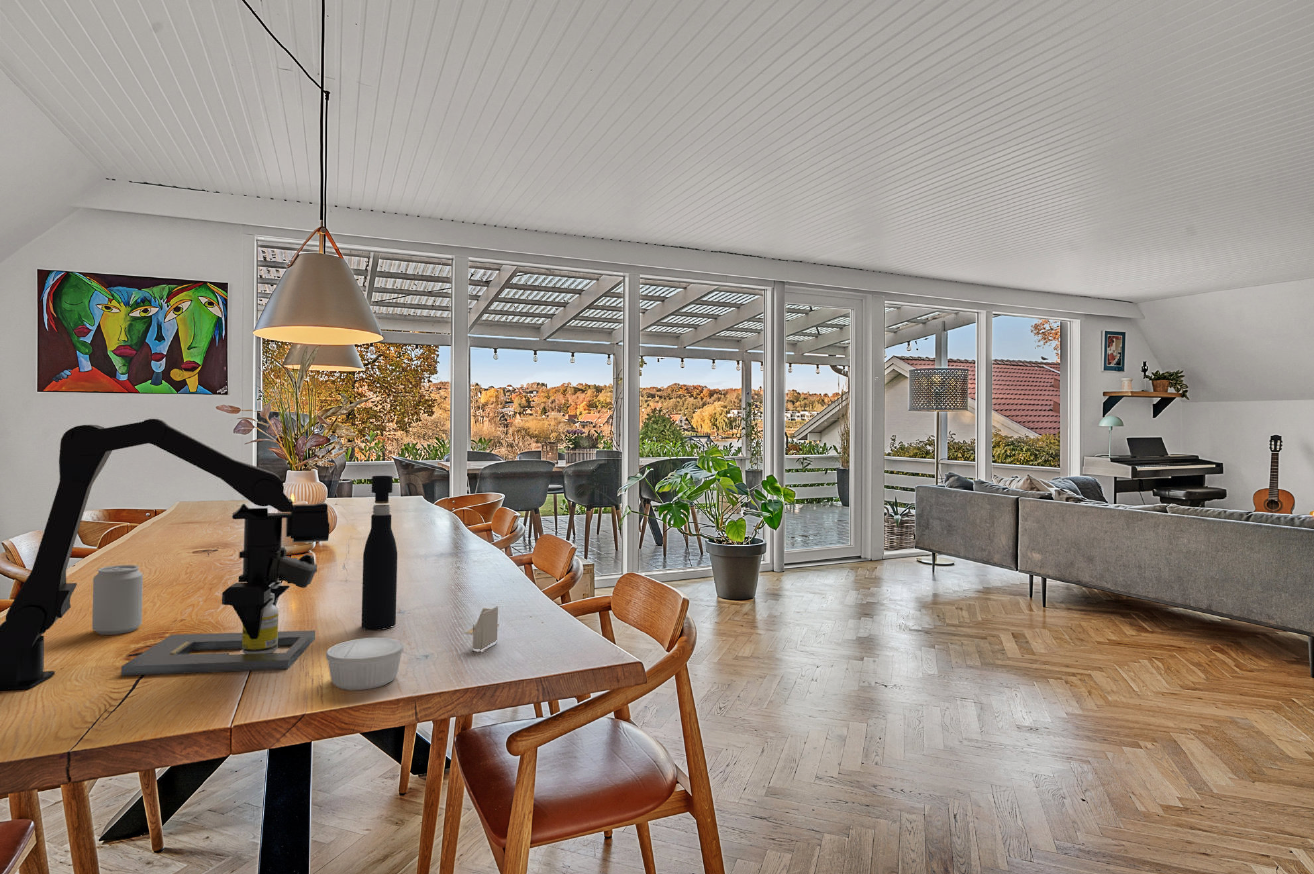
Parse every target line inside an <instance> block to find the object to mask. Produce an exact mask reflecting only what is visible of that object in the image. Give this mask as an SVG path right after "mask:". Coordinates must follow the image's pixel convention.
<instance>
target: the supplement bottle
mask: <svg viewBox="0 0 1314 874" xmlns="http://www.w3.org/2000/svg"><path fill="white" fill-rule="evenodd" d="M270 598H274V594H273V593H271V595H270ZM273 603H274V599H273V600H272V601H271V602H270V603H269V604H268V605H267V606H266V607H265V608H264V612H263V617H262V622H261V627H260V632H259V636H258V638H257V639H250V637H249V635H248V633H247V631H246V629H245V627H244V625H243V624H242V633H243V636H242V649H241V650H242V654H264V653H275V652H276V651H277V650H278V647H279V646H278V632H279V608H278V606H277V605H276V606H275V605H273Z"/></svg>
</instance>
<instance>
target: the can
mask: <svg viewBox="0 0 1314 874" xmlns="http://www.w3.org/2000/svg"><path fill="white" fill-rule="evenodd" d="M139 568H140V566H139V565H135V564H123V565H122V564H120V565H111V566H104V567H101V568H98V569H97V572H98V573H97V574H96V575H94V577H93V579H92V613H91V614H92V616H91V617H92V621H91V623H92V624H91V625H92V626H91V627H92V628H91V629H92V630H93V631H94V632H95V633H97V634H98V635H102V636H108V635H109V636H110V635H122V634H126V633H129V632H134V631H135V630H137V628H138V627H140V626H141V625H142V622H143V585H144V582H143V581H144V579H143V578H144V576H143V575H144V574H143V573H142V572H141V571H140V570H139Z"/></svg>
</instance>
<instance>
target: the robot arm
mask: <svg viewBox="0 0 1314 874" xmlns="http://www.w3.org/2000/svg"><path fill="white" fill-rule="evenodd" d="M148 444H150V445H153V446H156V447H157V448H159V449H161V450H163V451H165V452H167V453H169V454H171V455H172V456H175V457H177V458H179V459H180V460H182V461H184V462H187V463H189V464H190V465H193V466H195V467H196V468H199V469H201V470H203V471H205V472H207V473H209V474H211V475H213V476H215V477H217V478H218V479H220V480H222V481H223V482H224V483H226V484H227V485H228V486H230V487H231V488H232V489H233V490H235V491H236V492H238V493H239V494H240V495H241V496H243V497H244V498H245V499H247V500H248V501H249V502H251V503H252V504H253V505H255V506H259V507H256V508H254V507H251V508H250V507H248V505H246V504H245V503H242V504H241V506H240V507H239V508H238V509H236V511H235V512H233V513H232V516H231V519H233V520H244V521H243V522H244V524H243V525H244V526H243V527H244V528H243V529H244V530H243V549H242V550H240V551H239V552H238V553H239V554H238V555H239V556H238V558H239V559H243V560H242V574H240V575H238V582H234V583H233V584H232V585H230V586H228V587H227V588H226V589H225V590H223V592H222V593H221V605H223V606H231V607H232V608H233V610H234V611H235V613H236V615H237V616H238V618H239V620H240V621H241V623H242V626H243V625H244V627H245V629H246V631H247V633H248V635H249V637H250V639H257V638H258V636H259V632H260V627H261V622H262V617H263V612H264V608H265V607H266V606H267V605H268V604H269V603H270V602H271V601H272V600H273V599H274V603H273V605H275V606H276V607H277V603H278V600H279V598H280V596H282V594H284V593H285V592H286V591H287V590H289V588H290V587H291V586H290V585H282V582H283V581H284V582H286V583H287V584H293V585H295V586H296V587H298V588H301V589H304V588H307V587H308V586H309V585H311V584H312V581H313V578H314V577H315V574H316V573H317V572H318V564H315V556H313V555H311V554H309V553H305V554H303V555H302V556H301V557H300V558H299V559H298V558H297V557H289V556H287V549H286V548H285V547H282V542H283V541H282V539H283V534H282V533H283V519H285V537H286V538H290V539H291V540H292V543H311V542H315V543H316V542H328V541H329V539H330V538H329V537H330V522H329V510H328V507H329V505H328V503H326V502H322V503H321V502H319V503H313V504H293V503H294V502H293V500H292V498H289V497H288V496H287V495H286V494H285V492H284V491H285V486H284V483H283V480H282V479H281V478H280V476H279V475H278V474H277V473H275V472H273V471H271V470H267V469H264V468H261V467H258V466H255V465H252V464H250V463H249V464H248V463H246V462H242V461H239V460H236V459H234V458H232V457H230V456H228V455H226V454H224V453H222V452H220V451H218V450H216V449H214V448H212V447H211V446H209V445H206V444H205V443H203V442H201V441H199V440H198V439H195V438H193V437H192V436H189V435H188V434H185V433H184V432H182V431H181V430H178V429H176V428H174V427H172V426H171V425H169V424H167V423H166V422H165V421H164V420H162V419H159V418H148V419H145V420H142V421H139V422H134V423H127V424H122V425H116V426H111V427H104V426H101V425H99V424H82V425H77V426H76V425H75V426H74V427H72V428H69V429H67V430H66V432H64V433H63V434H62V437H61V438H60V443H59V456H58V457H59V458H58V467H59V469H58V470H59V471H58V472H59V473H58V474H59V482H58V486H57V488H56V491H55V495H54V498H53V499H54V500H53V501H52V504H51V508H50V511H49V514H48V519H47V521H46V524H45V528H44V531H43V534H42V537H41V541H40V543H39V547H38V550H37V553H36V557H35V560H34V563H33V566H32V570H31V571H30V573H29V574H28V576H27V578H26V579H25V581H24V582H23V584H22V586H21V587H20V589H19V590H18V592H17V594H16V595H15V598H14V599H13V601H12V603H11V605H9V609H8V610H7V612H6V615H5V621H3V622H1V624H0V691H4V690H6V691H7V690H25V689H27V690H28V689H31V688H33V687H34V686H37V685H38V684H39V683H42V682H44V681H46V680H47V679H49V678H51V677H53V676H54V675H55V674H56V671H55V670H48V671H47V670H46V671H44V668H45V666H44V663H45V635H43V634H45V633H46V631H47V630H50V628H51V627H52V626H53V625H54V624H55V623H56V622H57V621H58V619H61V618H63V616H65V614H66V613H67V612H68V611H69V610H70V609H71V607H72V605H71V597H72V595H73V593H74V591H75V589H76V587H77V585H78V583H77V582H70V583H69V582H67V569H68V565H69V561H70V558H71V556H72V553H73V549H74V545H75V543H76V540H77V536H78V533H79V529H80V525H81V523H82V519H83V517H84V514H85V513H84V512H85V510H86V506H87V503H88V499H89V496H90V493H91V491H92V486H93V484H94V482H95V481H96V479H97V477H98V476H99V474H100V473H101V471H102V470H103V468H104V467H105V465H106V463H107V461H108V459H109V458H110V455H111V454H112V452H113V451H118V450H120V449H126V448H133V447H136V446H141V445H148ZM268 506H270V507H271V508H274V509H275V510H277V511H279V512H269V510H268V509H269V508H268ZM271 593H273V594H274V598H270V595H271Z"/></svg>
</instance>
